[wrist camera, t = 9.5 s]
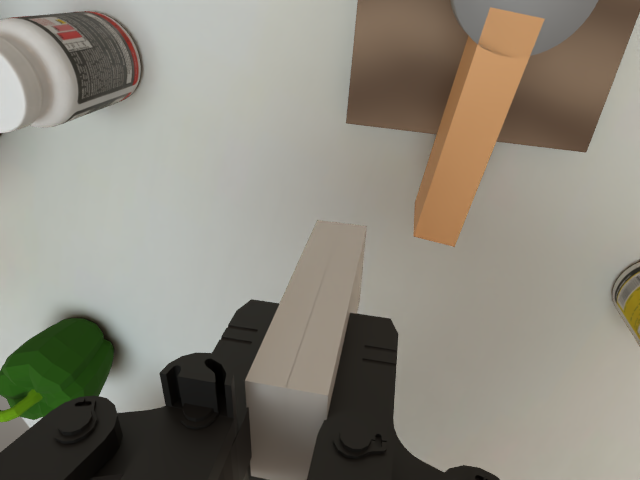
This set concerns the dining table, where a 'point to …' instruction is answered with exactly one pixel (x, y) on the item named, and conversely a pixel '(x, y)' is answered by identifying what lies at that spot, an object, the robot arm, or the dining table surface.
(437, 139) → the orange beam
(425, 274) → the dining table surface
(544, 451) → the dining table surface
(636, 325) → the supplement bottle
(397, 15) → the base
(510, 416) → the dining table surface
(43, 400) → the bell pepper
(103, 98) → the pill bottle
